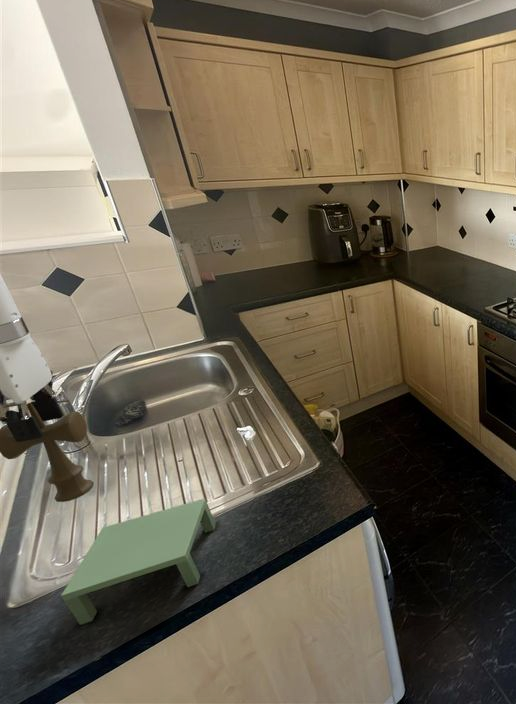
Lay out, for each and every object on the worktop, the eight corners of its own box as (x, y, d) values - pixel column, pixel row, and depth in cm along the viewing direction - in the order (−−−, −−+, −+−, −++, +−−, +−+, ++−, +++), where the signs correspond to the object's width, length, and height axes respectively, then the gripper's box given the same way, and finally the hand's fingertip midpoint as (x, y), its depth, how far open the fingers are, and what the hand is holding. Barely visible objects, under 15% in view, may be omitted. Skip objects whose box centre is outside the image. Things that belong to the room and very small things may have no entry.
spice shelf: (79, 625, 65) (60, 595, 63) (117, 554, 77) (102, 527, 75) (198, 583, 71) (184, 555, 69) (215, 524, 83) (205, 498, 81)
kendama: (48, 493, 77) (-2, 402, 70) (114, 475, 81) (73, 387, 74) (32, 515, 72) (-24, 420, 65) (103, 494, 76) (58, 403, 69)
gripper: (-4, 321, 71) (41, 409, 77) (-89, 360, 56) (-24, 465, 62) (53, 314, 73) (93, 399, 80) (-14, 350, 59) (41, 451, 65)
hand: (41, 427), depth 71 cm, fingers closed on kendama, 5 cm apart
